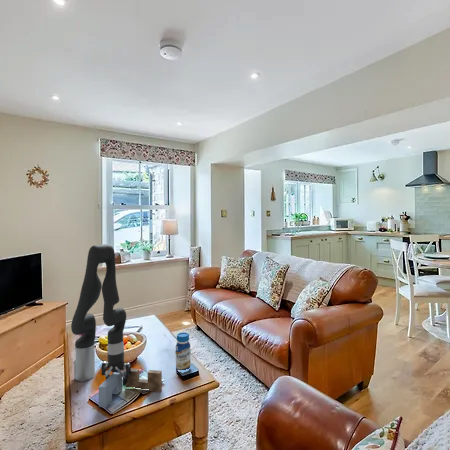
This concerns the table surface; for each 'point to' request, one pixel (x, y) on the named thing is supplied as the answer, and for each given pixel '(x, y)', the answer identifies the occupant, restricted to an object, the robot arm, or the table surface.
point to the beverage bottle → (183, 352)
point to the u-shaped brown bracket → (152, 383)
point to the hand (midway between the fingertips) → (116, 384)
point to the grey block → (109, 389)
